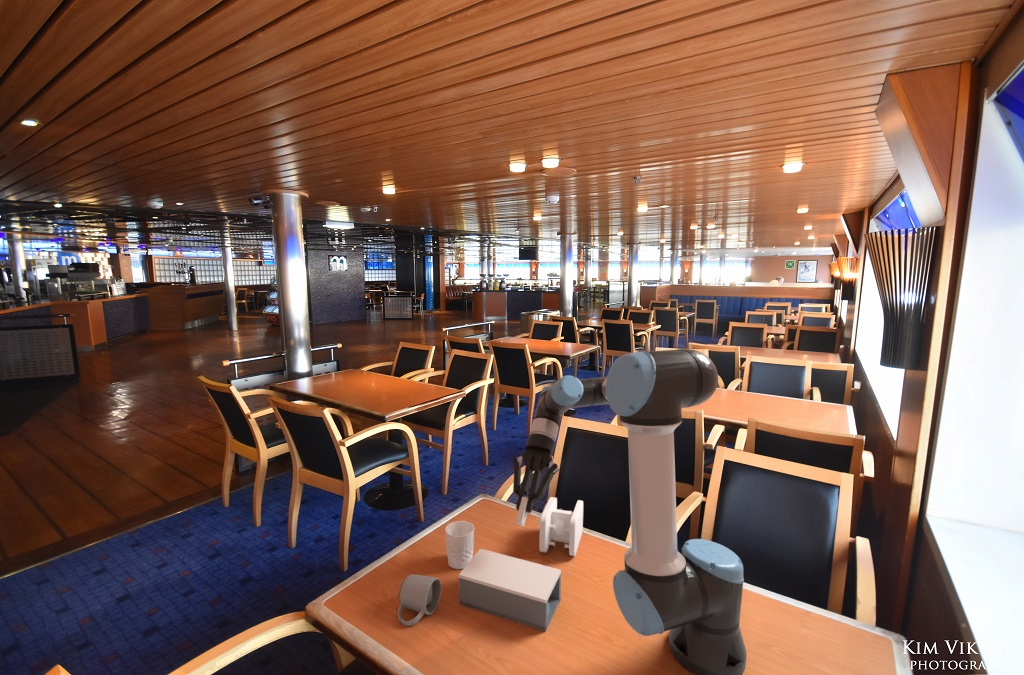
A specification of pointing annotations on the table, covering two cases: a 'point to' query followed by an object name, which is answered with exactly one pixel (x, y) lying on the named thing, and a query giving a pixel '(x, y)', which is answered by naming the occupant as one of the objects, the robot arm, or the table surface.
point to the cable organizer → (560, 526)
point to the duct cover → (511, 575)
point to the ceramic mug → (419, 596)
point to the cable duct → (510, 604)
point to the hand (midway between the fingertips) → (519, 524)
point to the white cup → (459, 543)
